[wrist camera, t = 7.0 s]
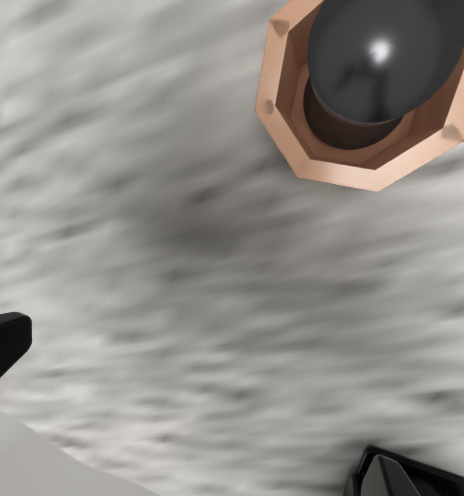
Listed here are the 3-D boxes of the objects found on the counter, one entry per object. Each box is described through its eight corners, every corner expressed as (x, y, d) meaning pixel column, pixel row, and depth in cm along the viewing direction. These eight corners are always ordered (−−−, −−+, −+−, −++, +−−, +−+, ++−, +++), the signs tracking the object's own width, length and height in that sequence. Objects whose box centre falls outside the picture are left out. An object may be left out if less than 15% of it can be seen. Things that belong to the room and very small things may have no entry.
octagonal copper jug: (477, -36, 13) (577, -159, 8) (403, 186, 16) (440, 203, 11) (307, -41, 14) (296, -148, 9) (269, 162, 17) (245, 168, 12)
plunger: (425, 45, 13) (546, -85, 6) (391, 157, 14) (454, 163, 7) (316, 36, 14) (304, -85, 7) (294, 141, 15) (265, 133, 8)
